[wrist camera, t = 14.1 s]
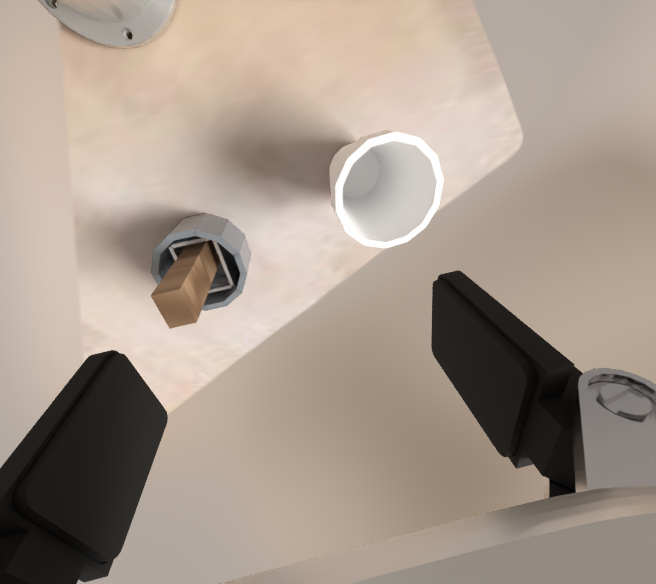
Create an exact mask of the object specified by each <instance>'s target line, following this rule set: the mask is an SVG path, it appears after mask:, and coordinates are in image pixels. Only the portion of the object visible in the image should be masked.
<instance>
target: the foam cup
mask: <svg viewBox="0 0 656 584" xmlns="http://www.w3.org/2000/svg"><path fill="white" fill-rule="evenodd" d="M329 179H330V187H331V205H332V207H333V209H334V211H335V213H336V215H337V217H338V219H339V221H340V223H341V225H342V227H343V228H344V230H345V232H346V233H347V234H349V235H350V236H352V237H353V238H354V239H356V240H357V241H358V242H360V243H361V244H363V245H365V246H372V247H379V248H388V247H392V246H395V245H398V244H402V243H405V242H408V241H409V240H410V239H411V238H413V237H414V236H415V235H416V234H418V233H419V232H420V231H421V230H423V229H424V228H425V227H426V226H427V224H428V223H429V221H430V220H431V218H432V216H433V215H434V213H435V211H436V210H437V208H438V206H439V204H440V198H441V192H442V187H443V181H444V179H443V175H442V172H441V168H440V164H439V160H438V156H437V155H436V154H435V153H434V152H433V151H432V149H431V148H430V147H429V146H428V145H427V144H426V143H425V142H424V141H423V140H422V139H421V138H420V137H416V136H412V135H407V134H403V133H399V132H395V131H386V130H385V131H382V132H378V133H375V134H372V135H368V136H365V137H361V138H360V139H359V140H358V141H357V142H354V143H351V144H348V145H346V146H343V147H342V148H341V149H340V150H339V151H338V152H337V153H336V154H335V155H334V157H333V159H332V162H331V164H330V166H329Z"/></svg>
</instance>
